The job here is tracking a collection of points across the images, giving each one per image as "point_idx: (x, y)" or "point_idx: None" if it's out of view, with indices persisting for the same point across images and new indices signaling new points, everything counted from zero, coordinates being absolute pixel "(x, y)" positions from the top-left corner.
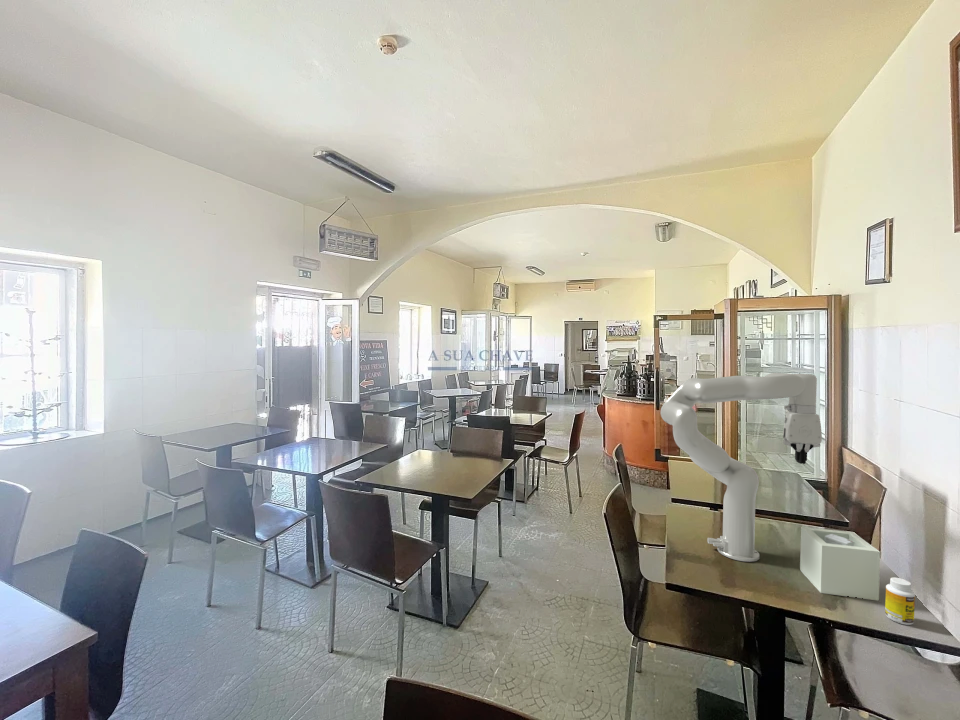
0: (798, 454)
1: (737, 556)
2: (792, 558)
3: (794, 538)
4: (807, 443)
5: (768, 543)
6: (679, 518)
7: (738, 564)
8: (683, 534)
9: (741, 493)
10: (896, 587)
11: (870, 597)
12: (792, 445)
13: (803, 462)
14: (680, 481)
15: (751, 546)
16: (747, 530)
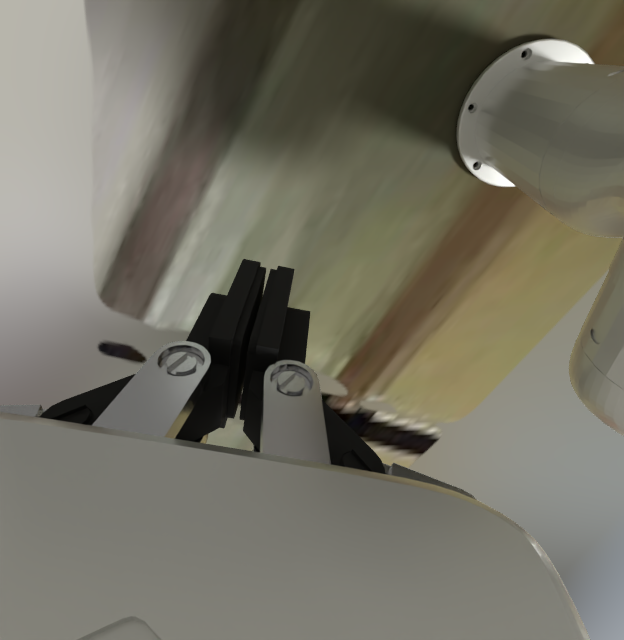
0: (290, 348)
1: (574, 59)
2: (351, 98)
3: (256, 253)
4: (139, 435)
5: (357, 212)
6: (507, 357)
7: (597, 13)
8: (588, 257)
9: None
10: None
11: None
12: (372, 461)
13: (260, 270)
14: None
15: (532, 70)
16: (594, 65)
